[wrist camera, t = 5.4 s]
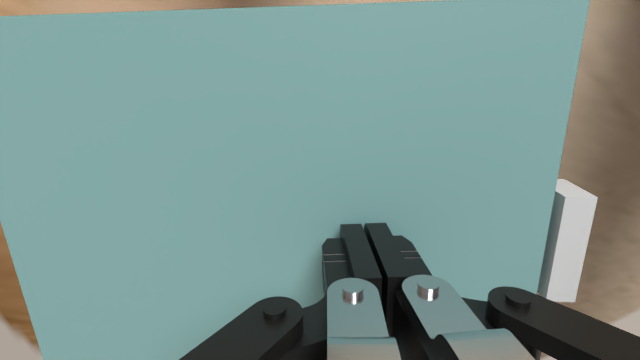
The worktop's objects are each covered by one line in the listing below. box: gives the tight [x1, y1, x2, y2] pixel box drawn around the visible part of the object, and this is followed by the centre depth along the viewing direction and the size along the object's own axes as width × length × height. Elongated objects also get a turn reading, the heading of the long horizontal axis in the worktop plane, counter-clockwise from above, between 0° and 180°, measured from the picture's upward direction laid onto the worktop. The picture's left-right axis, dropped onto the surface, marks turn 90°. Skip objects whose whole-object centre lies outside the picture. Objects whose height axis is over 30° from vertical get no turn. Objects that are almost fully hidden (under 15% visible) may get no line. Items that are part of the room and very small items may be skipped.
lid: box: [0, 0, 598, 360], centre depth 14 cm, size 21×16×2 cm
